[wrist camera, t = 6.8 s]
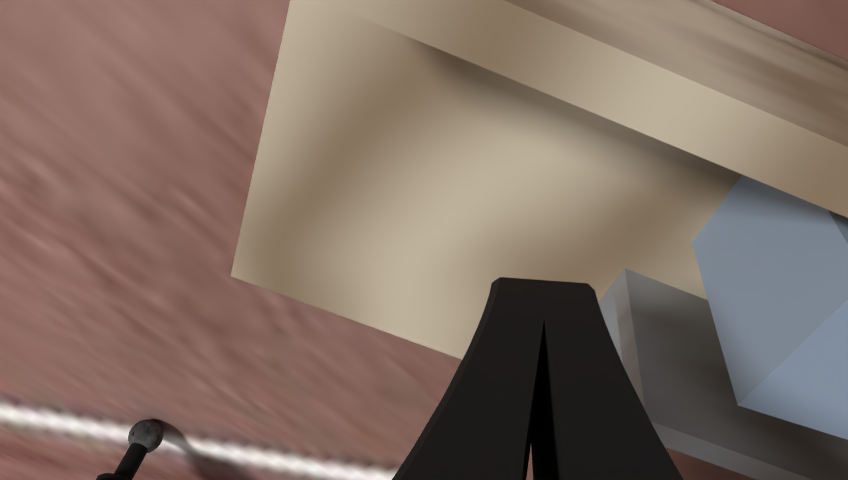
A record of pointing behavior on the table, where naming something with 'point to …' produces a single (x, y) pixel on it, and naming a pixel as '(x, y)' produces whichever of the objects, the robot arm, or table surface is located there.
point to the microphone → (136, 449)
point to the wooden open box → (544, 180)
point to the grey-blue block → (780, 303)
